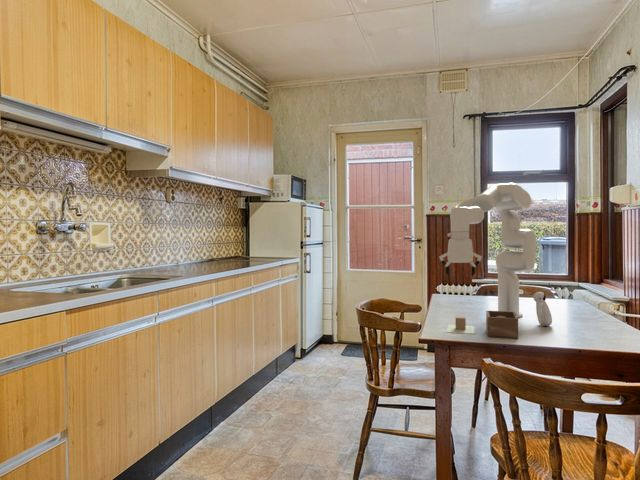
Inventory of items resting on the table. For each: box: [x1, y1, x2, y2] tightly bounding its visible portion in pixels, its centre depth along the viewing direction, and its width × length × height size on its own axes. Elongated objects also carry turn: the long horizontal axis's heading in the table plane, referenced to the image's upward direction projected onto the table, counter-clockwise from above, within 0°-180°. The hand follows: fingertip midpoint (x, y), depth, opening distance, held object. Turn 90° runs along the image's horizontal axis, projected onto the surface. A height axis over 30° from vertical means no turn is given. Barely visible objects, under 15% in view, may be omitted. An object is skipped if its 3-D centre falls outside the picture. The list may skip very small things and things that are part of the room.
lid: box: [445, 315, 475, 335], centre depth 184 cm, size 14×11×6 cm
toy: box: [533, 291, 553, 327], centre depth 188 cm, size 11×7×15 cm, turn 168°
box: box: [485, 310, 519, 340], centre depth 175 cm, size 14×11×8 cm
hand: (460, 276), depth 182 cm, fingers open, 9 cm apart
